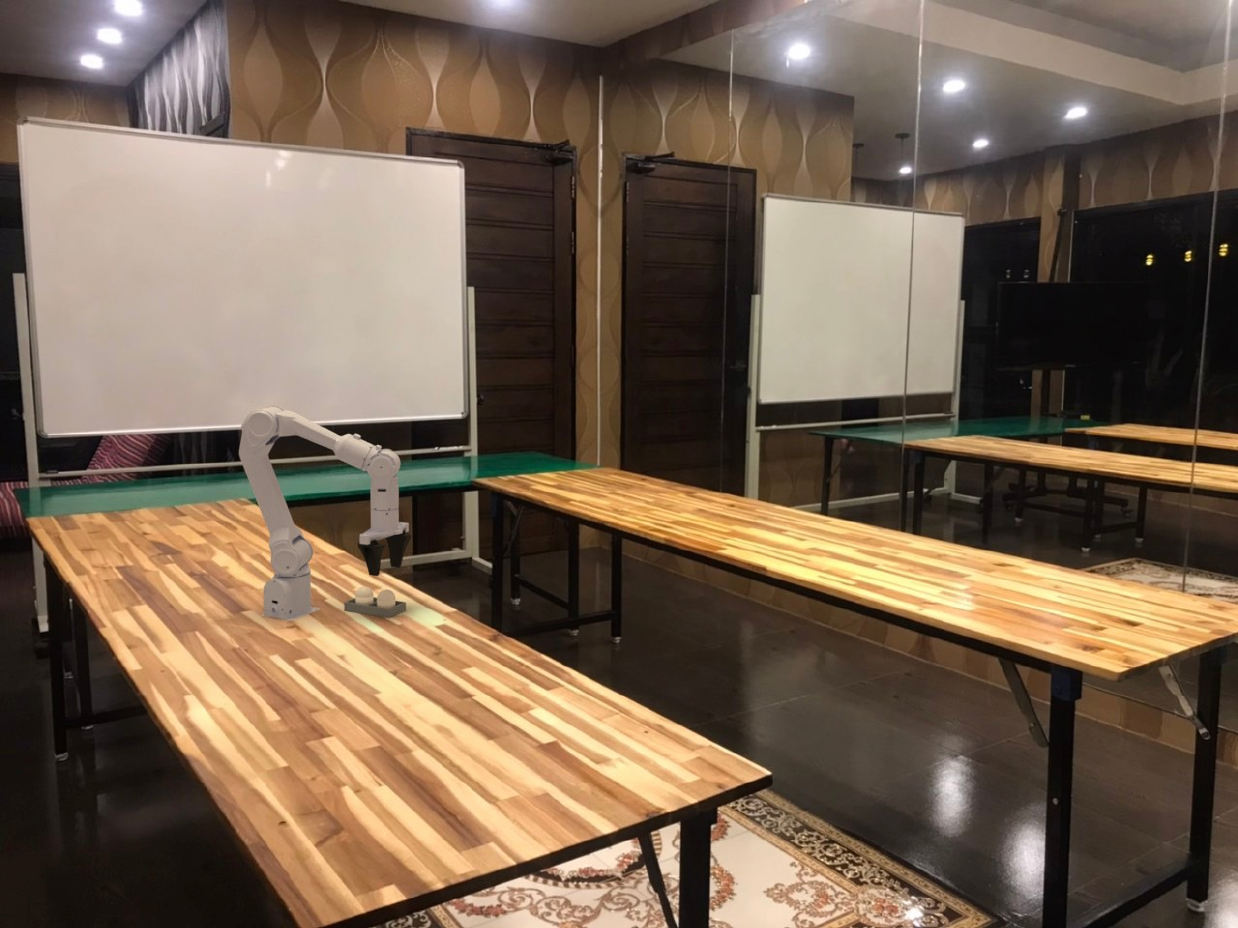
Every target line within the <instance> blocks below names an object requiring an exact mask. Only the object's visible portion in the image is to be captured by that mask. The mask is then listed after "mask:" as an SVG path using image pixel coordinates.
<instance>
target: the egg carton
mask: <svg viewBox="0 0 1238 928" xmlns="http://www.w3.org/2000/svg"><path fill="white" fill-rule="evenodd" d="M373 599H374V603H372V604H369V605H361V604H355V597H354V598H352V599H349V600H346V601H344V603H343V604H344V605H343V606H344V612H350V613H356V614H362V615H369V616H374V617H380V618H387V619H391V618H393V617H396V616H398V615H399V614H402V613H403V612H406V611H407V602H406V601H400V600H395V607H392V608H390V609H386V608H380V607H377V597H374V596H373Z"/></svg>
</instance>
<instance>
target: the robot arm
mask: <svg viewBox="0 0 1238 928" xmlns="http://www.w3.org/2000/svg"><path fill="white" fill-rule="evenodd" d="M240 429H241V437H240V443H239V447H238V448H239V449H238V456H239V460H240V462H241V465H242V467H243V469H244V472H245V474H246V476H247V479H248V481H249V485H250V487H251V490H252V492H253V495H254V497H255V500H256V502H257V505H258V508H259V510H260V512H261V515H262V517H263V521H264V523H265V525H266V529H267V530H268V533H269V539H268V549H269V551H270V565H271V567H272V570H273V571H274V574H273V577H272V578H271V579H269V580H267V581H266V582H265V584H264V586H263V589H262V590H263V591H262V592H263V614H261V615H260V616H262V617H267V618H273V619H277V620H278V619H279V620H285V621H293V620H296V619H299V618H302V617H304V616H306V615H309V614H312V613H314V612H317V611H319V610H321V608H319V607H314V606H312V589H311V588H312V585H311V584H312V581H311V576H312V575H311V570H312V569H311V567H310V566H309V562H310V561H311V560H312V558H313V555H314V547H313V546H312V544H311V542H310V541H309V540H307V539H306V538H305V536H304V534H303V532H302V530H301V529H300V528H299V527H298V526H297V525H296V524H295V522H294V520H293V517H292V515H291V511H290V510H289V506H288V504H287V502H286V499H285V495H284V494H283V491H282V490H281V489H282V488H281V486H280V484H279V480H278V478H277V476H276V473H275V470H274V468H273V466H272V463H271V460H270V458H269V453H270V451H271V450H272V448H273V446H274V445H275V442H276V441H277V440H278V439H279V438H280V437H291V436H298V437H300V438H303V439H305V440H307V441H310V442H312V443H315V444H318V445H320V446H323V447H325V448H327V449H330V450H332V451H333V453H334V455H335V458H336V459H337V460H339V461H341V462H344V463H346V464H348V465H349V466H350V465H351V466H353V467H354V468H357V469H359V470H360V471H363V472H365V471H366V472H367V473H368V475H369V476H370V484H371V485H370V528H369V529H367V530H366V531H364V532H363V533H360V534H359V541H357V548H358V549H359V550H360V553H361V554H362V556H363V559H364V561H365V564H366V567H367V572H368V575H369V576H372V577H379V576H380V574H381V573H380V572H381V563H382V556H383V552H384V550H385V547H386V545H385V544H381V543H379V542H378V541H381V540H383V539H385V540H386V543H387V547H388V552H389V563H390V567H391V568H397V569H400V568H401V567H402V563H403V560H404V556H405V552H406V549H407V547H408V544H409V543H410V541H411V539H412V534H411V533H409V531H410V530H409V529H410V526H409V525H410V523H409V522H403V521H400V520H399V518H400V517H399V516H400V513H399V506H400V505H399V504H400V501H399V499H400V498H399V497H400V495H399V494H400V491H399V490H400V489H399V488H400V487H399V474H397V473H398V472H399V471H400V468H401V463H402V462H401V459H400V457H399V455H398V454H397V453H396V452H394V451H393V450H392V449H390V448H383V449H382V445H379V444H377V445H374V444H372V443H370V442H367V441H366V440H363V439H361V435H360V434H358V433H354V434H350V433H347V434H344V435H338V434H337V433H335V432H333V431H331V430H329V429H327V428H326V427H323V426H321V425H319V424H317V423H316V422H314V421H311V420H310V419H308V418H306V417H304V416H302V415H300V414H298V413H296V412H294V411H292V410H288V409H284V408H283V407H281V406H279V405H270V406H267V407H265V408H259V409H254V410H253V411H252V410H251V412H249V413H248V415H247V416H246V417H245V419H244V420H243V421H242V423H241V424H240Z"/></svg>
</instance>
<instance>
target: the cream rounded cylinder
mask: <svg viewBox="0 0 1238 928" xmlns="http://www.w3.org/2000/svg"><path fill="white" fill-rule="evenodd" d="M376 598H377V607H380V608H386V609H390V608H392V607H395V601H396V595H395V593H394V592H393V591H392V590H391V589H383V590H381V591H379V592H378V594H377V597H376Z"/></svg>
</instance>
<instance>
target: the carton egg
mask: <svg viewBox="0 0 1238 928" xmlns="http://www.w3.org/2000/svg"><path fill="white" fill-rule="evenodd" d="M373 597H374V591H373V589H372V588H370V587H368V586H365V585H363V586H360V587H358V589H356V592H355V593H354V598H355V604H361V605H369V604H372V603H374V599H373Z"/></svg>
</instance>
